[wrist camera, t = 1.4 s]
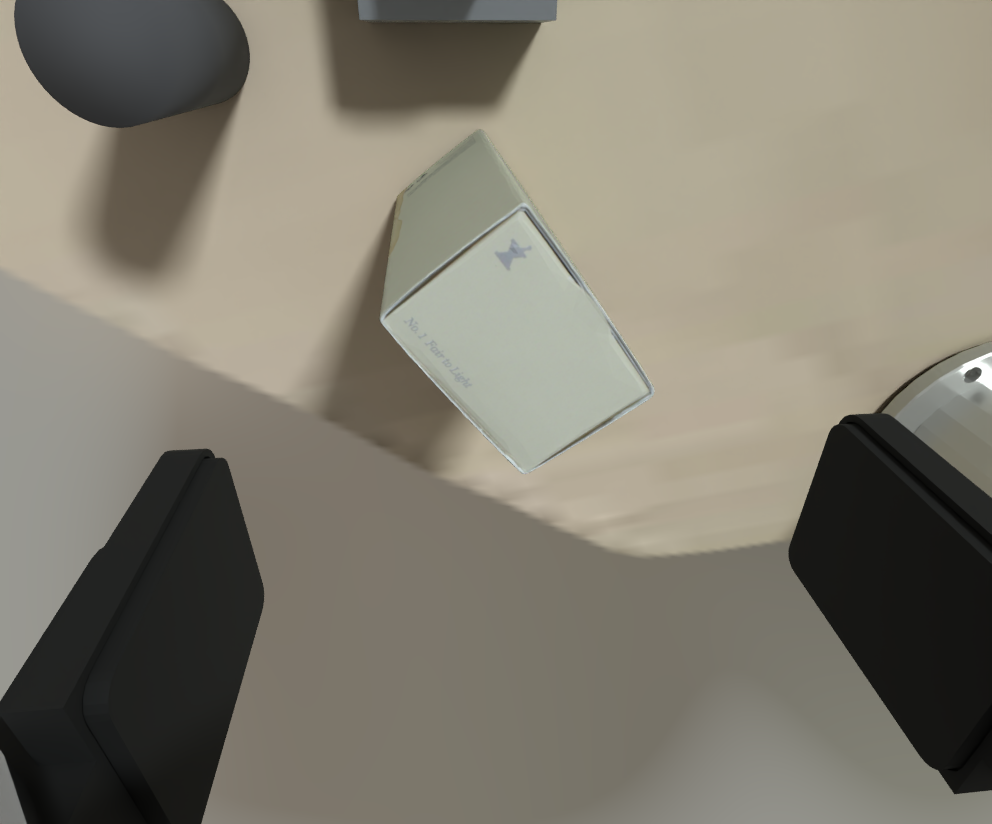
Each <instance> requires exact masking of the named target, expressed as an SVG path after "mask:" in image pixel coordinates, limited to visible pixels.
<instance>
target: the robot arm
mask: <svg viewBox="0 0 992 824" xmlns="http://www.w3.org/2000/svg"><path fill="white" fill-rule="evenodd" d="M789 561H790V564H791V567H792V569H793V571H794V572H795V574H796V575H797V577H798V578H799V579H800V581H801V582H802V584H803V585H804V587H805V588H806V590H807V591H808V593H809V594H810V595H811V597H812V599H813V600H814V601H815V603H816V604H817V606H818V607H819V609H820V610H821V612H822V613H823V614H824V616H825V618H826V619H827V621H828V622H829V623H830V625H831V626H832V628H833V629H834V631H835V632H836V634H837V635H838V637H839V638H840V640H841V641H842V643H843V644H844V645H845V647H846V648H847V650H848V651H849V653H850V654H851V656H852V657H853V659H854V660H855V662H856V663H857V665H858V666H859V667H860V669H861V670H862V672H863V673H864V675H865V676H866V678H867V679H868V681H869V682H870V684H871V685H872V687H873V688H874V689H875V691H876V692H877V694H878V695H879V697H880V698H881V700H882V701H883V703H884V704H885V705H886V707H887V709H888V710H889V711H890V713H891V714H892V716H893V717H894V719H895V720H896V722H897V723H898V725H899V726H900V728H901V729H902V730H903V732H904V733H905V735H906V736H907V738H908V739H909V741H910V742H911V744H912V745H913V747H914V748H915V749H916V751H917V752H918V754H919V755H920V757H921V758H922V759H923V760H924V761H925V763H927V764H928V765H929V766H930V767H932V768H934V769H936V770H938V771H939V772H940V774H941V775H942V777H943V778H944V779H945V781H946V782H947V784H948V785H949V787H950V788H951V789H952V791H953V793H954V794H960V793H969V792H978V791H988V790H992V342H988V343H985V344H982V345H979V346H976V347H974V348H971V349H968V350H965V351H963V352H961V353H959V354H957V355H955V356H953V357H951V358H949V359H947V360H945V361H943V362H941V363H939V364H937V365H936V366H934V367H933V368H931V369H930V370H929V371H927V372H926V373H924V374H923V375H921V376H920V377H918V378H917V379H915V380H914V381H913V382H912V383H911V384H910V385H908V386H907V387H906V388H905V389H904V390H903V391H902V392H900V393H899V394H898V395H897V396H896V397H895V398H894V399H893V400H892V401H891V402H890V404H889V405H888V406H887V407H886V408H885V409H884V410H883V411H882V413H875V414H856V415H848V416H845V417H844V418H843V419H842V420H841V421H840V423H839V424H838V425H835V426H834V427H833V428H832V429H831V431H830V432H829V435H828V438H827V441H826V443H825V446H824V449H823V452H822V455H821V458H820V461H819V463H818V466H817V469H816V472H815V475H814V478H813V481H812V483H811V486H810V489H809V492H808V495H807V498H806V500H805V503H804V506H803V509H802V512H801V515H800V518H799V520H798V523H797V526H796V529H795V532H794V535H793V538H792V540H791V543H790V547H789ZM263 603H264V588H263V583H262V579H261V576H260V573H259V569H258V566H257V562H256V559H255V555H254V552H253V548H252V545H251V541H250V538H249V534H248V531H247V528H246V524H245V521H244V517H243V514H242V510H241V507H240V503H239V500H238V497H237V493H236V490H235V486H234V483H233V479H232V476H231V472H230V469H229V466H228V463H227V461H226V460H225V459H224V458H215V456H214V454H213V453H212V451H211V450H209V449H194V450H173V451H167V452H165V453H164V454H163V455H162V456H161V457H160V459H159V461H158V462H157V464H156V465H155V467H154V468H153V470H152V472H151V473H150V475H149V476H148V478H147V480H146V481H145V483H144V484H143V486H142V488H141V489H140V491H139V492H138V494H137V495H136V497H135V499H134V500H133V502H132V503H131V505H130V507H129V508H128V510H127V511H126V513H125V515H124V516H123V518H122V519H121V521H120V522H119V524H118V526H117V527H116V529H115V530H114V532H113V533H112V535H111V537H110V539H109V540H108V542H107V543H106V545H105V546H104V547H103V548H102V549H100V550H99V551H98V552H97V553H96V554H95V555H94V557H93V558H92V559H91V560H90V562H89V563H88V565H87V567H86V568H85V570H84V571H83V573H82V574H81V576H80V578H79V579H78V581H77V582H76V584H75V585H74V587H73V588H72V590H71V592H70V593H69V595H68V596H67V598H66V599H65V601H64V603H63V604H62V606H61V607H60V609H59V610H58V612H57V613H56V615H55V617H54V618H53V620H52V621H51V623H50V625H49V626H48V628H47V629H46V631H45V632H44V634H43V635H42V637H41V639H40V640H39V642H38V643H37V645H36V647H35V648H34V649H33V651H32V653H31V654H30V656H29V657H28V659H27V660H26V662H25V663H24V665H23V667H22V668H21V670H20V671H19V673H18V675H17V676H16V678H15V679H14V681H13V682H12V684H11V685H10V687H9V689H8V690H7V692H6V693H5V695H4V696H3V698H2V700H1V701H0V824H201V822H202V818H203V815H204V812H205V808H206V805H207V801H208V798H209V794H210V791H211V787H212V784H213V780H214V777H215V773H216V770H217V766H218V763H219V759H220V755H221V752H222V749H223V745H224V742H225V738H226V735H227V731H228V728H229V724H230V721H231V717H232V714H233V710H234V707H235V703H236V700H237V696H238V693H239V689H240V686H241V683H242V679H243V676H244V672H245V669H246V665H247V662H248V658H249V655H250V651H251V648H252V644H253V640H254V637H255V634H256V630H257V627H258V623H259V620H260V616H261V613H262V609H263Z"/></svg>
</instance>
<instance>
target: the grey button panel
mask: <svg viewBox="0 0 992 824" xmlns="http://www.w3.org/2000/svg"><path fill="white" fill-rule="evenodd" d="M358 10H359V20H363V21H367V22H497V23H543V22H549V21H555V20H556V12H557V0H358Z"/></svg>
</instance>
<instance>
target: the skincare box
mask: <svg viewBox="0 0 992 824" xmlns="http://www.w3.org/2000/svg"><path fill="white" fill-rule="evenodd" d="M379 319H380V322H381V323H382V325H383V326H384V327H385V329H386V330H387V331H388V332H389V333H390V334H391V336H392V337H393V338H394V339H395V341H396V342H397V343H398V344H399V345H400V346H401V347H402V348H403V350H404V351H405V352H406V353H407V354H408V356H409V357H410V358H411V359H412V360H413V361H414V362H415V363H416V364H417V365H418V366H419V368H420V369H421V370H422V371H423V372H424V373H425V374H426V375H427V376H428V377H429V378H430V379H431V381H432V382H433V383H434V384H435V385H436V386H437V387H438V388H439V389H440V390H441V392H442V393H443V394H444V395H445V396H446V397H447V398H448V399H449V400H450V401H451V402H452V403H453V404H454V405H455V406H456V407H457V408H458V409H459V410H460V411H461V412H462V413H463V414H464V416H465V417H466V418H467V419H468V420H469V421H470V422H471V423H472V424H473V425H474V426H475V427H476V428H477V429H478V430H479V431H480V432H481V433H482V434H483V435H484V437H485V438H486V439H487V440H489V441H490V442H491V443H492V444H493V445H494V446H495V447H496V448H497V449H498V451H499V452H500V453H501V454H502V455H503V456H504V457H505V458H506V459H507V460H508V461H509V462H510V463H511V464H512V465H513V466H514V467H516V468H517V469H518V470H519V471H520V472H521V473H522V474H527V473H530V472H532V471H533V470H535V469H536V468H538V467H540V466H542V465H543V464H545V463H547V462H548V461H550V460H551V459H553V458H555V457H556V456H558V455H560V454H562V453H563V452H565V451H566V450H568V449H570V448H571V447H573V446H575V445H577V444H578V443H580V442H581V441H583V440H585V439H587V438H588V437H590V436H591V435H593V434H594V433H596V432H598V431H599V430H601V429H603V428H604V427H606V426H608V425H609V424H611V423H612V422H614V421H615V420H617V419H619V418H620V417H622V416H623V415H625V414H626V413H628V412H630V411H631V410H633V409H635V408H636V407H638V406H639V405H641V404H643V403H644V402H646V401H647V400H649V399H650V398H651V397H652V396H653V395H654V390H655V389H654V387H653V385H652V383H651V381H650V380H649V378H648V376H647V375H646V373H645V372H644V370H643V368H642V367H641V365H640V364H639V362H638V361H637V359H636V358H635V356H634V354H633V353H632V351H631V350H630V348H629V347H628V345H627V344H626V342H625V341H624V339H623V338H622V336H621V335H620V333H619V332H618V330H617V329H616V327H615V326H614V324H613V323H612V321H611V320H610V318H609V317H608V315H607V314H606V312H605V310H604V309H603V307H602V306H601V304H600V303H599V301H598V300H597V298H596V297H595V295H594V294H593V292H592V291H591V289H590V288H589V286H588V285H587V283H586V282H585V280H584V279H583V277H582V276H581V274H580V273H579V271H578V270H577V268H576V266H575V265H574V263H573V262H572V261H571V259H570V258H569V256H568V255H567V253H566V252H565V250H564V249H563V247H562V246H561V244H560V243H559V241H558V240H557V238H556V237H555V235H554V234H553V232H552V231H551V229H550V228H549V226H548V225H547V223H546V222H545V220H544V219H543V217H542V216H541V214H540V213H539V212H538V210H537V209H536V207H535V206H534V204H533V203H532V201H531V200H530V198H529V197H528V195H527V194H526V192H525V191H524V189H523V188H522V186H521V185H520V183H519V182H518V180H517V179H516V177H515V176H514V174H513V173H512V171H511V170H510V168H509V167H508V165H507V164H506V162H505V161H504V160H503V158H502V157H501V155H500V154H499V152H498V151H497V150H496V148H495V147H494V145H493V144H492V143H491V141H490V140H489V138H488V137H487V136H486V134H485V133H484V131H482V130H477V131H475V132H474V133H473V134H472V135H470V136H469V137H468V138H466V139H465V140H464V141H463V142H461V143H460V144H459V145H458V146H456V147H455V148H454V149H452V150H451V151H450V152H449V153H447V154H446V155H445V156H444V157H442V158H441V159H440V160H439V161H438V162H436V163H435V164H434V165H433V166H431V167H430V168H429V169H428V170H427V171H425V172H424V173H423V174H422V175H421V176H419V177H418V178H417V179H416V180H415V181H414V182H413V183H411V184H410V185H409V186H408V187H407V188H406V189H405V190H403V191H402V192H401V193H400V194H399V195H398V196H397V201H396V208H395V214H394V221H393V228H392V234H391V240H390V248H389V255H388V263H387V269H386V276H385V283H384V290H383V297H382V304H381V311H380V318H379Z"/></svg>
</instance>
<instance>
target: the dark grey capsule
mask: <svg viewBox="0 0 992 824" xmlns="http://www.w3.org/2000/svg"><path fill="white" fill-rule="evenodd" d="M14 18H15V29H16V35H17V39H18V42H19V46H20V48H21V51H22V53H23V56H24V58H25V60H26V62H27V64H28V66H29V68H30V70H31V71H32V73H33V74H34V76H35V77H36V79H37V80H38V81H39V83H40V84H41V85H42V86H43V88H44V89H45V90H46V91H47V92H48V93H49V94H50V95H51V96H52V97H53V98H54V99H55V100H56V101H57V102H59V103H60V104H61V105H62V106H63V107H65V108H66V109H68V110H69V111H70V112H72V113H74V114H75V115H77V116H79V117H81V118H83V119H85V120H87V121H90V122H92V123H95V124H98V125H102V126H107V127H116V128H124V127H132V126H136V125H140V124H144V123H148V122H151V121H155V120H159V119H162V118H166V117H170V116H173V115H177V114H181V113H184V112H188V111H192V110H195V109H199V108H203V107H206V106H210V105H214V104H217V103H221V102H223V101H226V100H228V99H229V98H231V97H232V96H234V95H235V94H236V93H237V92H238V91H239V90H240V88H241V87H242V85H243V84H244V82H245V79H246V77H247V74H248V70H249V63H250V53H249V45H248V41H247V37H246V34H245V32H244V29H243V27H242V25H241V23H240V21H239V19H238V18H237V16H236V15H235V13H234V12H233V11H232V9H231V8H230V7H229V6H228V5H227V4H226V3H225V2H224V1H223V0H16V2H15V11H14Z"/></svg>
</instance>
